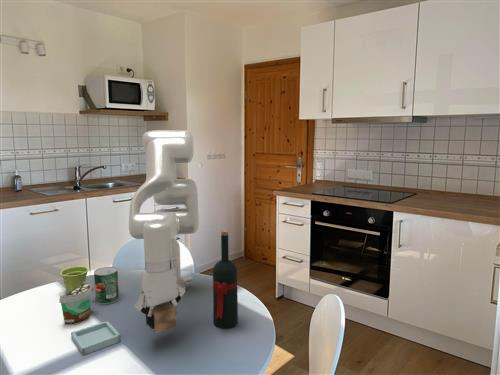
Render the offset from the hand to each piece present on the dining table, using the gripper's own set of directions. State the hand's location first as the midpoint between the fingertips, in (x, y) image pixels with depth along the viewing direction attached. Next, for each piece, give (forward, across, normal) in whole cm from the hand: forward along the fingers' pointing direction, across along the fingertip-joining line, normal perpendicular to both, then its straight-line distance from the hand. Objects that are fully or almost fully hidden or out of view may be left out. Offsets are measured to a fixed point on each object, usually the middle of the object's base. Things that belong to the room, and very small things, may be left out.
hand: (161, 321), depth 110 cm
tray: (+6, +15, -13) cm, 20 cm away
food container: (+7, +14, -29) cm, 33 cm away
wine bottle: (+7, -19, +4) cm, 21 cm away
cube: (+1, 0, 0) cm, 1 cm away
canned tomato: (+8, +3, -37) cm, 38 cm away
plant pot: (+8, +10, -50) cm, 51 cm away
